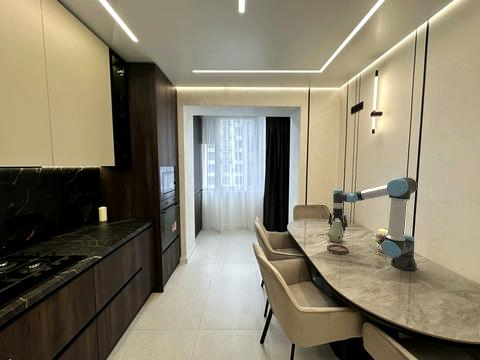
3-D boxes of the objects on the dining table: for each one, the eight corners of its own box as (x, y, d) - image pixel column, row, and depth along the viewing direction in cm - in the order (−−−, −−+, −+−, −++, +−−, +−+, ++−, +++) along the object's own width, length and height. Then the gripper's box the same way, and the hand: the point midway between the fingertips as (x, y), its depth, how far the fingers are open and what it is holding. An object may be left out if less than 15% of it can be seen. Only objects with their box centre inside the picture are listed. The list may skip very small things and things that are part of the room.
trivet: (352, 250, 192) (352, 247, 192) (342, 256, 181) (342, 253, 181) (333, 245, 205) (333, 242, 205) (323, 250, 194) (323, 247, 194)
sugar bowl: (348, 244, 209) (348, 228, 208) (332, 244, 208) (332, 228, 208) (338, 237, 228) (338, 222, 227) (324, 237, 228) (324, 223, 227)
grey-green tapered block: (333, 232, 199) (333, 219, 198) (344, 234, 193) (344, 220, 192) (330, 234, 192) (330, 221, 191) (341, 236, 186) (341, 222, 185)
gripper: (352, 208, 185) (352, 235, 186) (328, 205, 202) (328, 229, 203) (348, 209, 180) (348, 237, 182) (323, 206, 197) (323, 231, 198)
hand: (337, 233), depth 192 cm, fingers closed on grey-green tapered block, 9 cm apart
